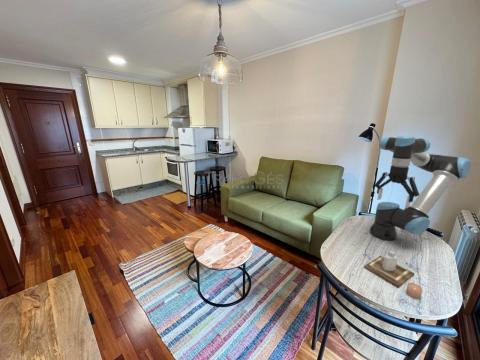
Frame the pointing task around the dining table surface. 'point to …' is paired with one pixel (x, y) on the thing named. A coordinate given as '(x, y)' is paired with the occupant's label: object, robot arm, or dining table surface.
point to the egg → (414, 290)
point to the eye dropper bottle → (390, 261)
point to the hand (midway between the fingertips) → (392, 203)
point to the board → (389, 272)
